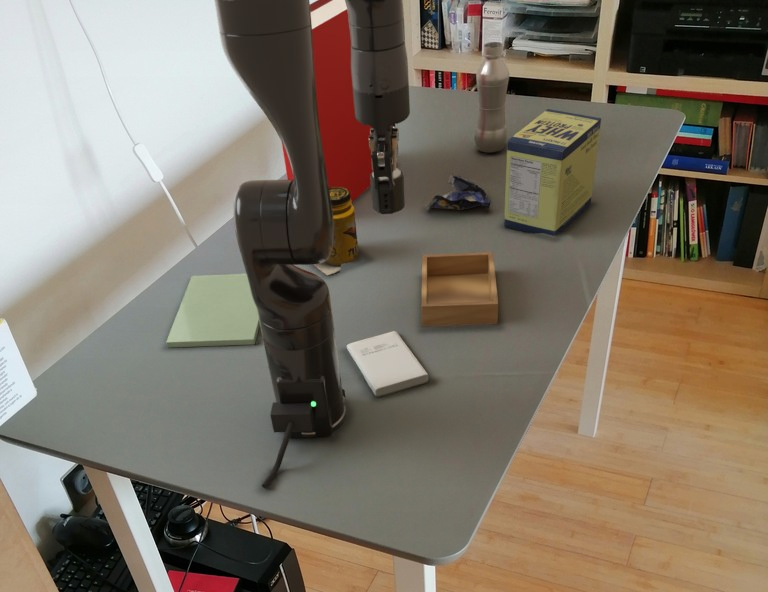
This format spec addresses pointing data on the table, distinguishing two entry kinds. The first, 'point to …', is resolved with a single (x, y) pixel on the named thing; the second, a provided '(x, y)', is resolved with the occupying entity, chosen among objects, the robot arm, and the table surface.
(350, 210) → the condiment
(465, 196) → the snack package
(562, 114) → the protein box
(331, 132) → the book
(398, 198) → the sushi roll
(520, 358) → the table surface
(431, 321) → the bento box
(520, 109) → the table surface
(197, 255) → the table surface
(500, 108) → the plastic bottle
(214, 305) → the sushi plate
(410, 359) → the hard drive
